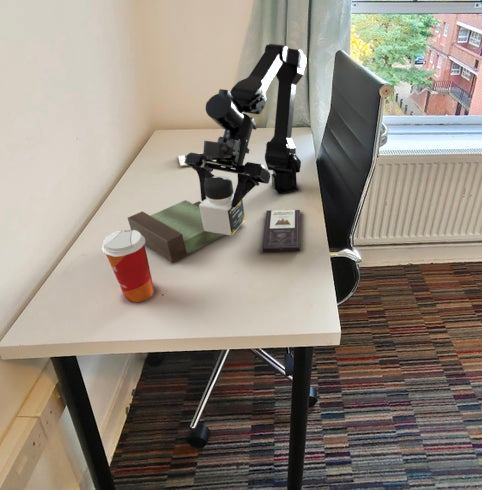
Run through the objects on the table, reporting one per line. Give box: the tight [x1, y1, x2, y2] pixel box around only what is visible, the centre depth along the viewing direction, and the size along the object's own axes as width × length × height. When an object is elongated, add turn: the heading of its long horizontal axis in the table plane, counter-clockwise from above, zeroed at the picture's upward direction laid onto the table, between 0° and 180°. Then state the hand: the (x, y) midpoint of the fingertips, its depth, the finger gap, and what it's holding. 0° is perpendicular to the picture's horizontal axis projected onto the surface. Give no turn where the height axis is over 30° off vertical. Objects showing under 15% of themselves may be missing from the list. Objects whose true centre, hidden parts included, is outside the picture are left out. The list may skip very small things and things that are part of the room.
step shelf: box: [127, 199, 225, 264], centre depth 110 cm, size 20×16×6 cm
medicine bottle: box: [199, 175, 246, 236], centre depth 100 cm, size 7×7×12 cm
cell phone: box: [178, 152, 216, 168], centre depth 148 cm, size 8×16×1 cm, turn 113°
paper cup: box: [101, 229, 155, 303], centre depth 89 cm, size 8×8×14 cm
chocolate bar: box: [261, 209, 301, 253], centre depth 114 cm, size 9×1×18 cm
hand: (217, 204), depth 98 cm, fingers closed on medicine bottle, 7 cm apart
